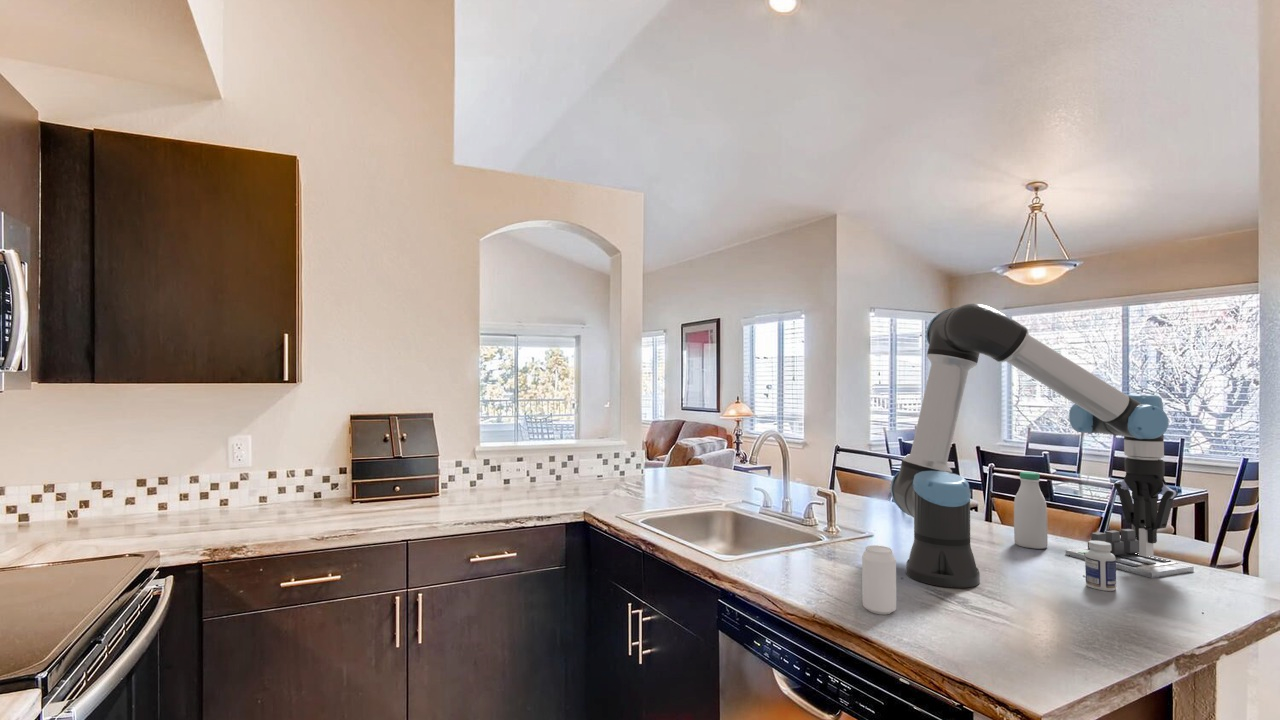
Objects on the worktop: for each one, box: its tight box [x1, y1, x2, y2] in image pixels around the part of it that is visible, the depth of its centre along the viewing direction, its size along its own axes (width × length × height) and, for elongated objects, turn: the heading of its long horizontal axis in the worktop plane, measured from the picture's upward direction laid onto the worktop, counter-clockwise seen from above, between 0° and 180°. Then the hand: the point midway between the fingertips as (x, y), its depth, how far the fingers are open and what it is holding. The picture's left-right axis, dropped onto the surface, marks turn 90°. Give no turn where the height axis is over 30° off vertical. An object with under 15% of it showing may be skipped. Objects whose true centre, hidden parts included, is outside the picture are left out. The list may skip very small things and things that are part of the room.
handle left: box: [1087, 531, 1106, 550], centre depth 154 cm, size 4×3×5 cm
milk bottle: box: [1013, 471, 1049, 550], centre depth 168 cm, size 8×8×20 cm
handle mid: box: [1104, 529, 1124, 555], centre depth 156 cm, size 4×3×5 cm
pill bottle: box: [1084, 540, 1117, 592], centre depth 134 cm, size 5×5×10 cm
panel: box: [1065, 546, 1194, 579], centre depth 152 cm, size 15×20×2 cm
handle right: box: [1120, 528, 1139, 553], centre depth 157 cm, size 4×3×5 cm
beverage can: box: [861, 544, 897, 616], centre depth 120 cm, size 6×6×12 cm
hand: (1146, 555), depth 148 cm, fingers closed
